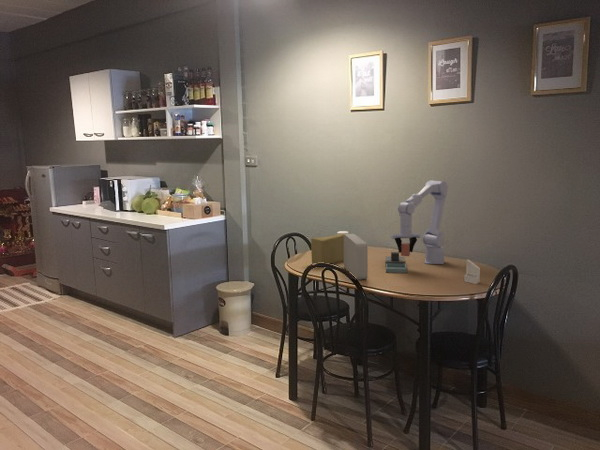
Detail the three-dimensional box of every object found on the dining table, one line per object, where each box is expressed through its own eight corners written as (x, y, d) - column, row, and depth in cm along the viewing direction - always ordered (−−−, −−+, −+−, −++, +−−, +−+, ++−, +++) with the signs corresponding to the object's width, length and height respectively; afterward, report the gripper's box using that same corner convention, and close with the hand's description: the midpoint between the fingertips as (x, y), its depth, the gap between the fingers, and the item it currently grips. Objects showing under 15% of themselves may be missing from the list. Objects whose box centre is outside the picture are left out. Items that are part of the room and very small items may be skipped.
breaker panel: (404, 262, 275) (404, 255, 274) (404, 267, 264) (404, 260, 263) (385, 261, 276) (385, 255, 276) (385, 266, 266) (385, 260, 265)
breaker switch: (398, 259, 268) (398, 252, 267) (398, 260, 265) (398, 253, 264) (391, 259, 268) (391, 251, 268) (391, 260, 266) (391, 253, 265)
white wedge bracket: (459, 273, 241) (468, 259, 236) (476, 286, 236) (485, 272, 231) (455, 274, 238) (464, 260, 234) (472, 288, 233) (482, 274, 229)
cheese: (341, 257, 289) (341, 232, 286) (353, 260, 281) (352, 234, 278) (310, 264, 276) (310, 237, 273) (321, 267, 268) (321, 239, 265)
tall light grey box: (372, 280, 242) (372, 243, 239) (356, 281, 241) (356, 244, 238) (357, 265, 270) (357, 232, 267) (343, 266, 269) (343, 233, 266)
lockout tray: (405, 267, 263) (405, 263, 263) (406, 272, 253) (406, 268, 253) (386, 267, 265) (386, 263, 264) (385, 272, 255) (385, 268, 254)
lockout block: (409, 254, 260) (410, 243, 259) (409, 256, 256) (409, 244, 255) (402, 254, 261) (402, 242, 260) (401, 255, 257) (401, 244, 256)
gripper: (417, 224, 261) (416, 249, 263) (389, 225, 259) (389, 251, 262) (421, 226, 254) (421, 252, 256) (393, 227, 252) (393, 254, 255)
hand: (405, 252), depth 258 cm, fingers closed on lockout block, 5 cm apart
